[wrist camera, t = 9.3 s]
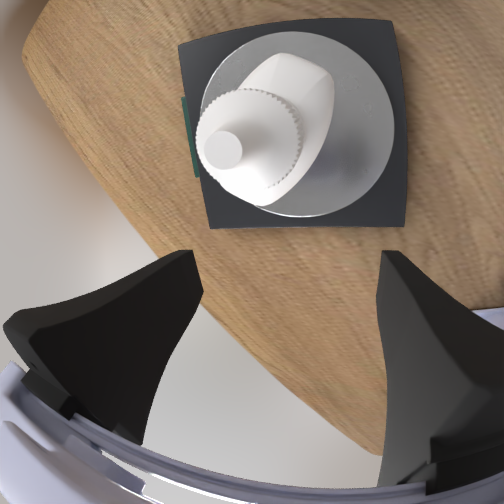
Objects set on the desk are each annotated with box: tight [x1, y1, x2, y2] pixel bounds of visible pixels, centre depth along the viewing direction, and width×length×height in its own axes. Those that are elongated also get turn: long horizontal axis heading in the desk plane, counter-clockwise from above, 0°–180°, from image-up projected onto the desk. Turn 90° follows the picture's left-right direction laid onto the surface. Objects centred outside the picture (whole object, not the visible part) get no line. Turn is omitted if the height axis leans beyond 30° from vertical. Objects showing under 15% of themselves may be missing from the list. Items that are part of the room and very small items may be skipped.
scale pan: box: [200, 31, 394, 217], centre depth 15 cm, size 12×12×1 cm
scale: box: [178, 18, 408, 229], centre depth 16 cm, size 14×14×2 cm
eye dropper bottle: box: [195, 53, 335, 206], centre depth 9 cm, size 4×6×12 cm
